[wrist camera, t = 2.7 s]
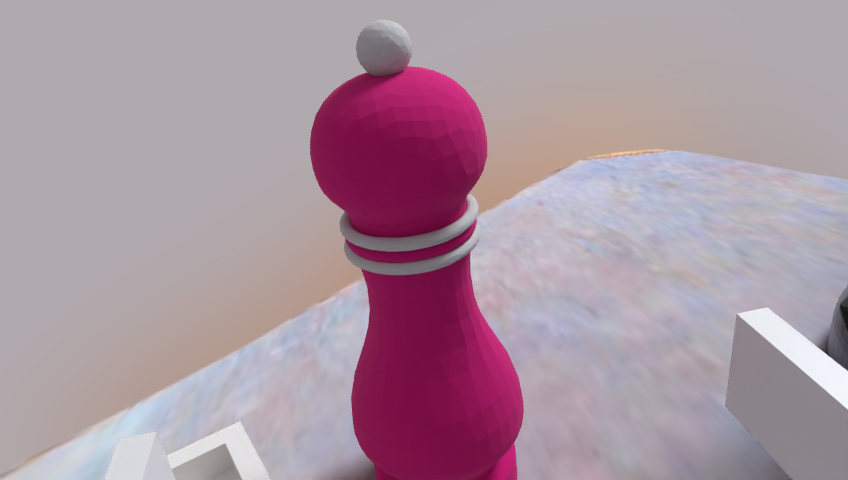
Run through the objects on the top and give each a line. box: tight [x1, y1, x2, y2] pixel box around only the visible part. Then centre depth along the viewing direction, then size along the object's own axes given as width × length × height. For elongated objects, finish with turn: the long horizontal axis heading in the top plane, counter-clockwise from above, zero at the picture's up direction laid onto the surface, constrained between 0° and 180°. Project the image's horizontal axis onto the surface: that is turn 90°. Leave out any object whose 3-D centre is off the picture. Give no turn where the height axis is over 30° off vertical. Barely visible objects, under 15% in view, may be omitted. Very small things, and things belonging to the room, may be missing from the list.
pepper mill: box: [310, 20, 524, 480], centre depth 24 cm, size 7×7×20 cm
